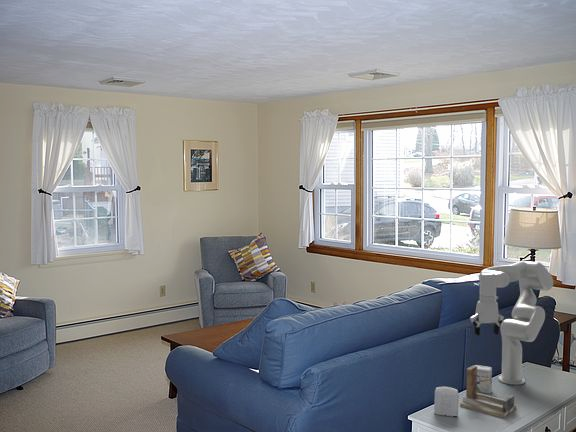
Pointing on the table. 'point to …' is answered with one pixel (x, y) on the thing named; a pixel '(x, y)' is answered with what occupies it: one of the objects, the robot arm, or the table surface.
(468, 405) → the rail board
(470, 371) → the end bracket
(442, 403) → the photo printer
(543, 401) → the table surface
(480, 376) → the ink box
